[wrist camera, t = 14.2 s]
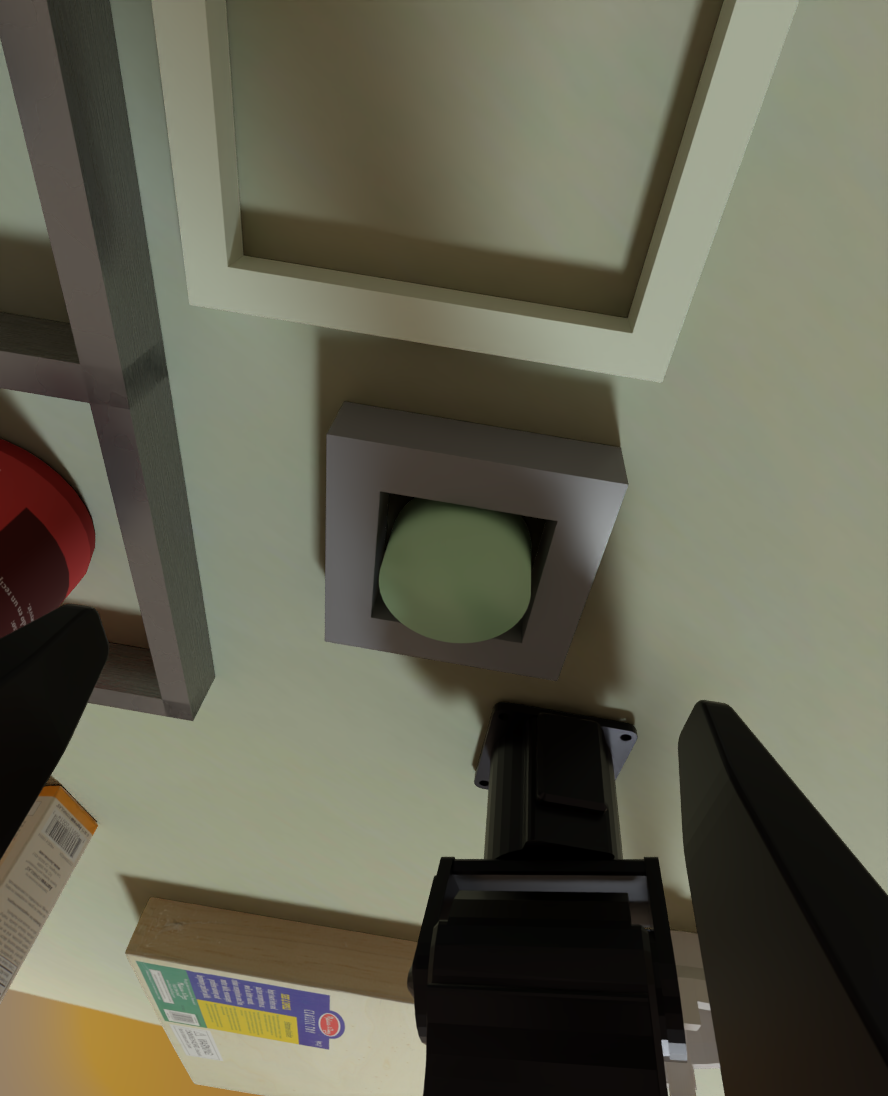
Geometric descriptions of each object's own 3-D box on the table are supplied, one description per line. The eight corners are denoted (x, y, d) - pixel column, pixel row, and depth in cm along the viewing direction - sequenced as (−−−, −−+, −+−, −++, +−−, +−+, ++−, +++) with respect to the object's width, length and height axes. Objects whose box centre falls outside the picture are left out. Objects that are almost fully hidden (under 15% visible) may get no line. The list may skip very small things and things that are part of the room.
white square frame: (655, 365, 19) (661, 382, 18) (206, 291, 19) (189, 304, 18) (926, -418, 10) (964, -461, 10) (117, -537, 11) (77, -594, 10)
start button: (516, 607, 24) (514, 653, 23) (387, 584, 25) (374, 629, 23) (545, 499, 21) (546, 543, 19) (397, 474, 21) (383, 516, 20)
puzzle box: (208, 1031, 70) (424, 1071, 70) (190, 1084, 67) (418, 1127, 66) (152, 883, 48) (472, 941, 47) (121, 951, 44) (466, 1015, 44)
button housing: (556, 639, 26) (557, 681, 25) (338, 601, 26) (324, 641, 25) (620, 447, 21) (628, 484, 19) (343, 401, 21) (326, 434, 19)
